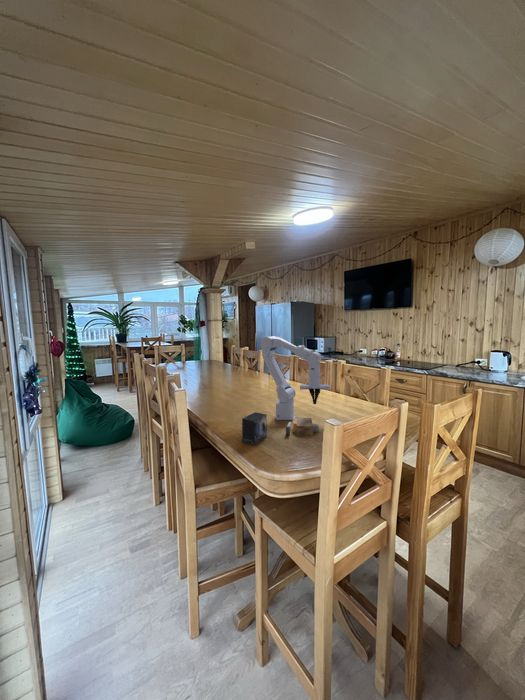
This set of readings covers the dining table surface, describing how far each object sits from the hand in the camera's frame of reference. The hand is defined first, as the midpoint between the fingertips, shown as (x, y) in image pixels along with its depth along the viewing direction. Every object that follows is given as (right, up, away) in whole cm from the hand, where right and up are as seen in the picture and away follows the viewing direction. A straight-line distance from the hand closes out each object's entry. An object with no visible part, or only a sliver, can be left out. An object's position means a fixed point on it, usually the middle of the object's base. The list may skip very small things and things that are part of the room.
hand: (314, 403), depth 153 cm
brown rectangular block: (-6, -11, -10) cm, 16 cm away
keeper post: (-15, -11, -16) cm, 24 cm away
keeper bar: (-14, -10, -11) cm, 20 cm away
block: (-7, -11, -10) cm, 16 cm away
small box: (-29, -12, -20) cm, 37 cm away
